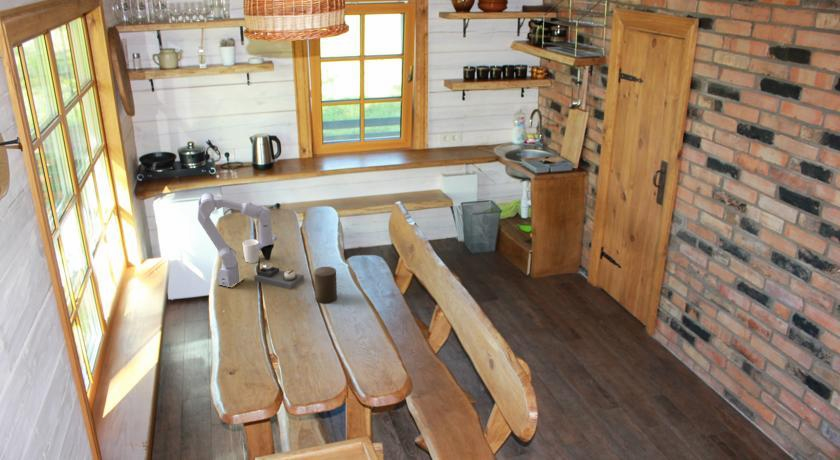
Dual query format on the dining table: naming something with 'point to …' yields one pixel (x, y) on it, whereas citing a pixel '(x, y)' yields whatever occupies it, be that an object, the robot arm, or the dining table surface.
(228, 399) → the dining table surface
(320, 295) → the pillar candle
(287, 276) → the dial knob
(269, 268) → the press knob
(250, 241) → the white cup
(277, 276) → the console
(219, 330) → the dining table surface
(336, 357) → the dining table surface
